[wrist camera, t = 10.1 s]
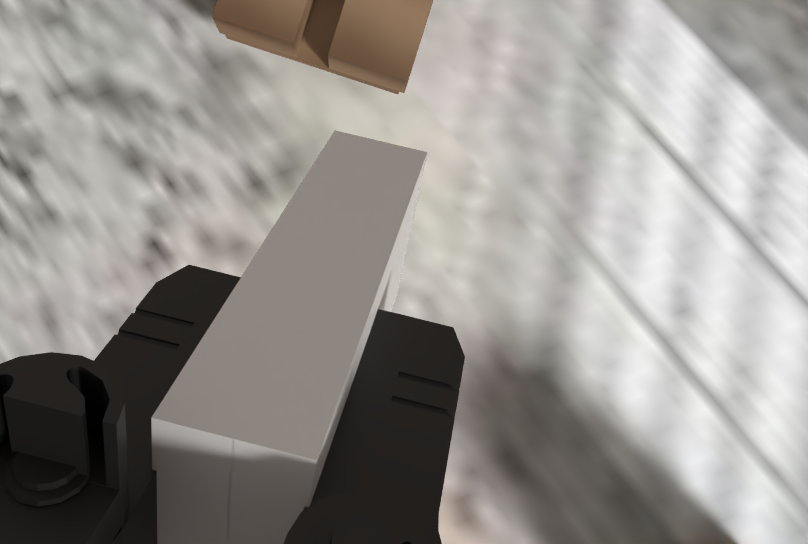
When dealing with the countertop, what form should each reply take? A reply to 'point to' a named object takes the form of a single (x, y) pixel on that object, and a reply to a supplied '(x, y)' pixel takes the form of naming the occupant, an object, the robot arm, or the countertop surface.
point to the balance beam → (333, 34)
